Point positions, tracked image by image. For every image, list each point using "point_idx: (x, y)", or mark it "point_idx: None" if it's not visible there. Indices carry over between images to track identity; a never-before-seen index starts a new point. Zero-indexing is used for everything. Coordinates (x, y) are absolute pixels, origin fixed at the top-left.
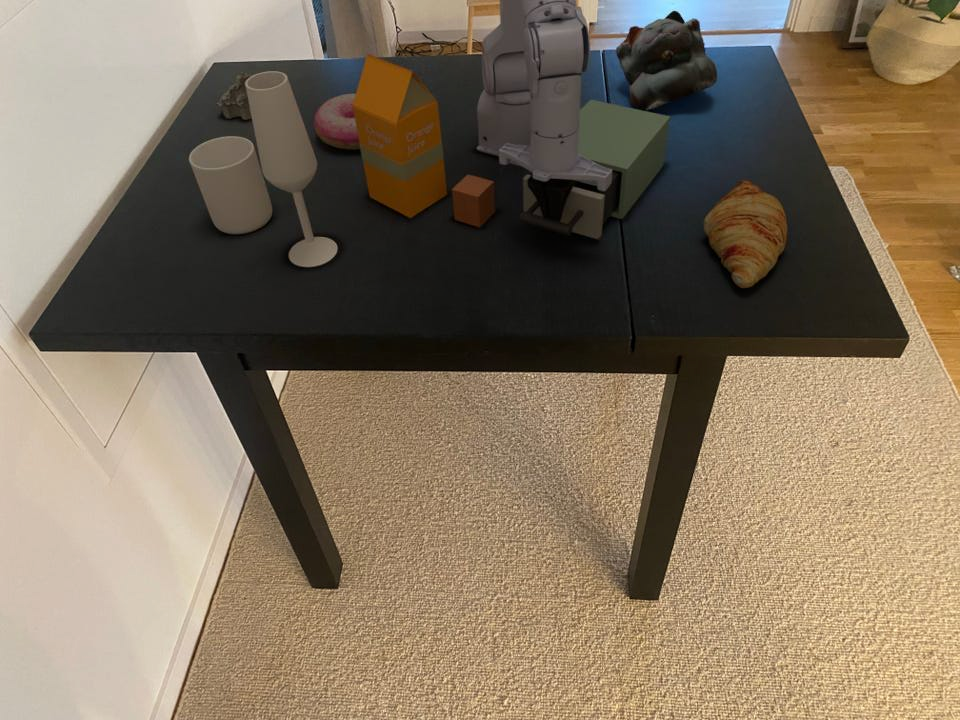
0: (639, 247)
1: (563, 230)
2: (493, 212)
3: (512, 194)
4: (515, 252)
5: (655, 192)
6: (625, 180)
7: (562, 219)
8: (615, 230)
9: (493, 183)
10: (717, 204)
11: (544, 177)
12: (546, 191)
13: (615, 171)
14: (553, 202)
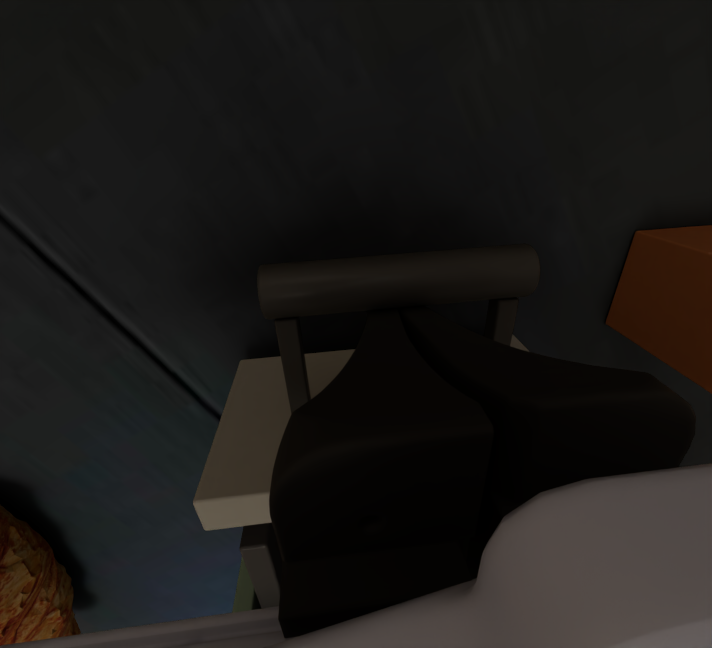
0: (135, 396)
1: (284, 270)
2: (611, 316)
3: None
4: (468, 170)
5: None
6: (236, 600)
7: None
8: None
9: (706, 387)
10: (5, 611)
11: (645, 621)
12: (454, 394)
13: None
14: (381, 361)
